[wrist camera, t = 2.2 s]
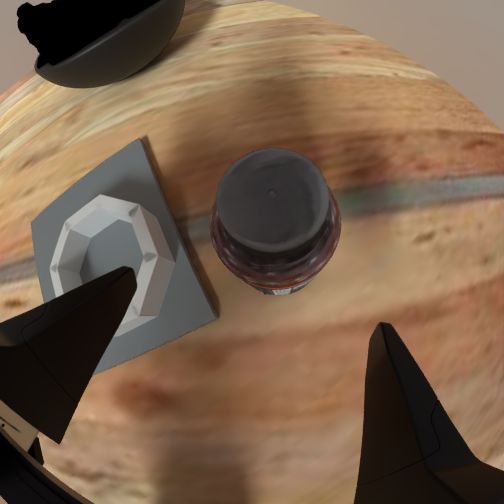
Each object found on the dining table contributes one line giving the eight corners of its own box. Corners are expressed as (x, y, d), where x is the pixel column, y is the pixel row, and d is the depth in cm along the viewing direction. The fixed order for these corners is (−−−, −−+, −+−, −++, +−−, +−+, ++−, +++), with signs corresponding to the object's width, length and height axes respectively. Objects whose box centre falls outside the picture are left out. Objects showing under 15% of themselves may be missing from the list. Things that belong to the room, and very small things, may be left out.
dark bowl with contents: (190, 12, 30) (158, -75, 11) (218, 73, 25) (170, -74, 7) (81, 64, 31) (28, -4, 12) (66, 146, 26) (-31, 60, 8)
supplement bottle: (224, 243, 21) (163, 174, 10) (291, 203, 21) (293, 102, 10) (265, 312, 20) (239, 315, 9) (334, 268, 20) (389, 219, 9)
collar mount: (218, 317, 20) (203, 319, 16) (77, 382, 20) (49, 388, 16) (143, 143, 24) (125, 120, 20) (36, 224, 24) (12, 214, 20)
